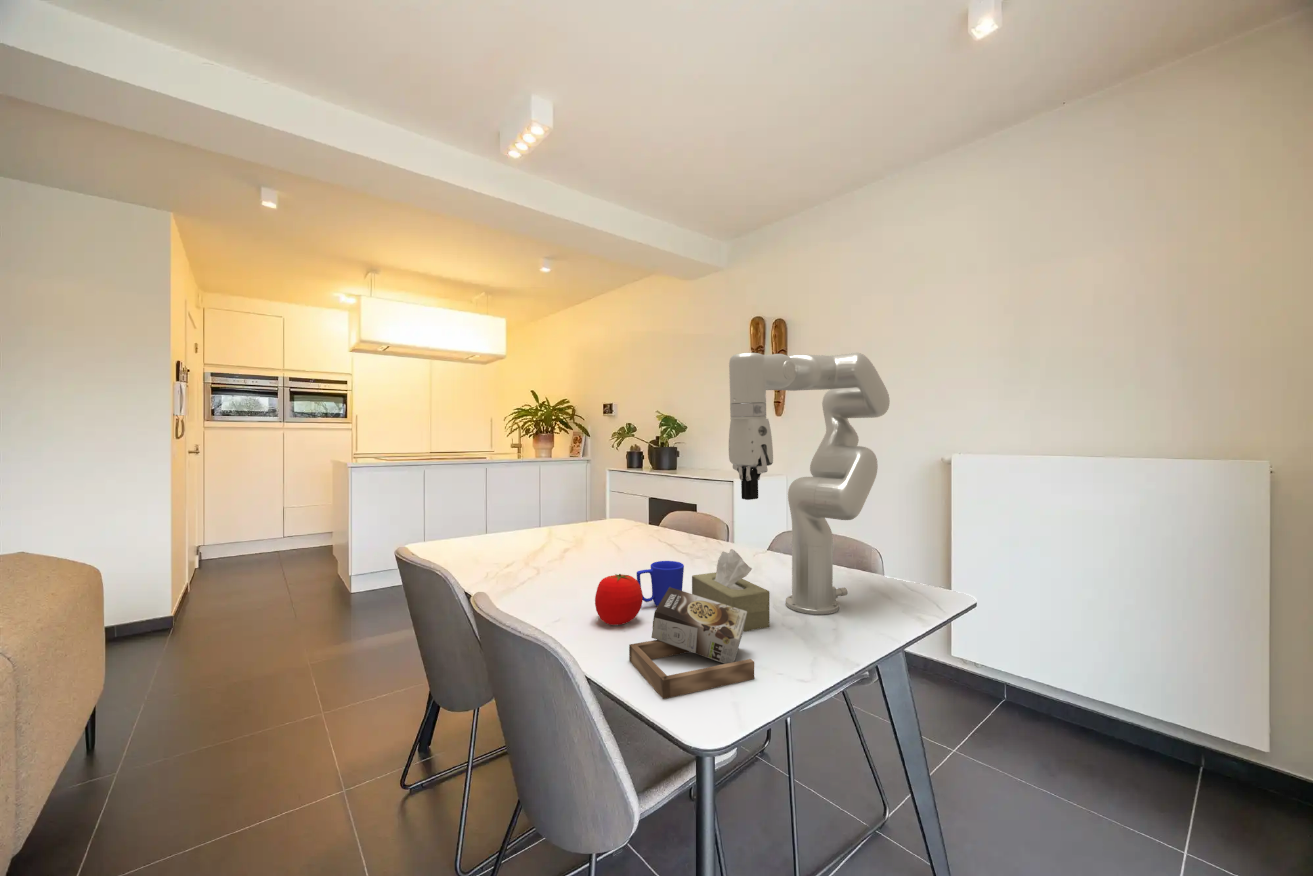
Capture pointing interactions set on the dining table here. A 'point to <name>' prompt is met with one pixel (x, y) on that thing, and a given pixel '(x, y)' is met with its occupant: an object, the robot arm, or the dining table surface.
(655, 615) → the coffee box
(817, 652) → the dining table surface
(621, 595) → the tomato
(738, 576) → the tissue box
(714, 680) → the u rest
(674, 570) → the mug
